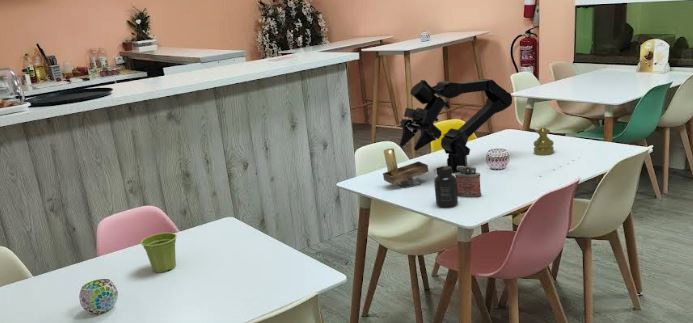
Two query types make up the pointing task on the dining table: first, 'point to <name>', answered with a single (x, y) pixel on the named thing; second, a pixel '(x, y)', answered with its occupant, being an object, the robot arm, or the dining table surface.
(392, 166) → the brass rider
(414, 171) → the brown wooden tray
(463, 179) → the lighter
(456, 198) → the supplement bottle
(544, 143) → the olive tiered piece
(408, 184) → the stand
